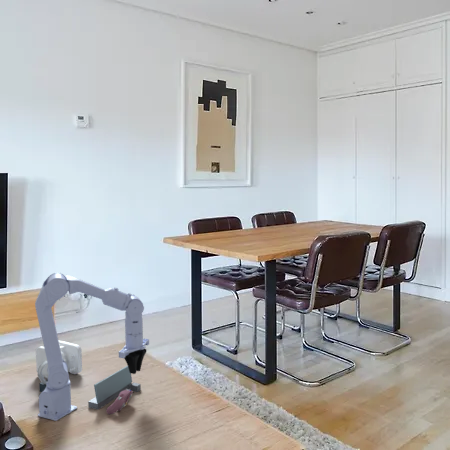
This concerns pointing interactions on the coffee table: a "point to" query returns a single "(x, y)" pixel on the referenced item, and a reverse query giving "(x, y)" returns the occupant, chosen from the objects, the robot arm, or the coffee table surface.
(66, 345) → the cable organizer
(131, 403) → the coffee table surface
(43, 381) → the watch
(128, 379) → the panel
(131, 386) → the rail
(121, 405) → the video game controller
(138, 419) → the coffee table surface
